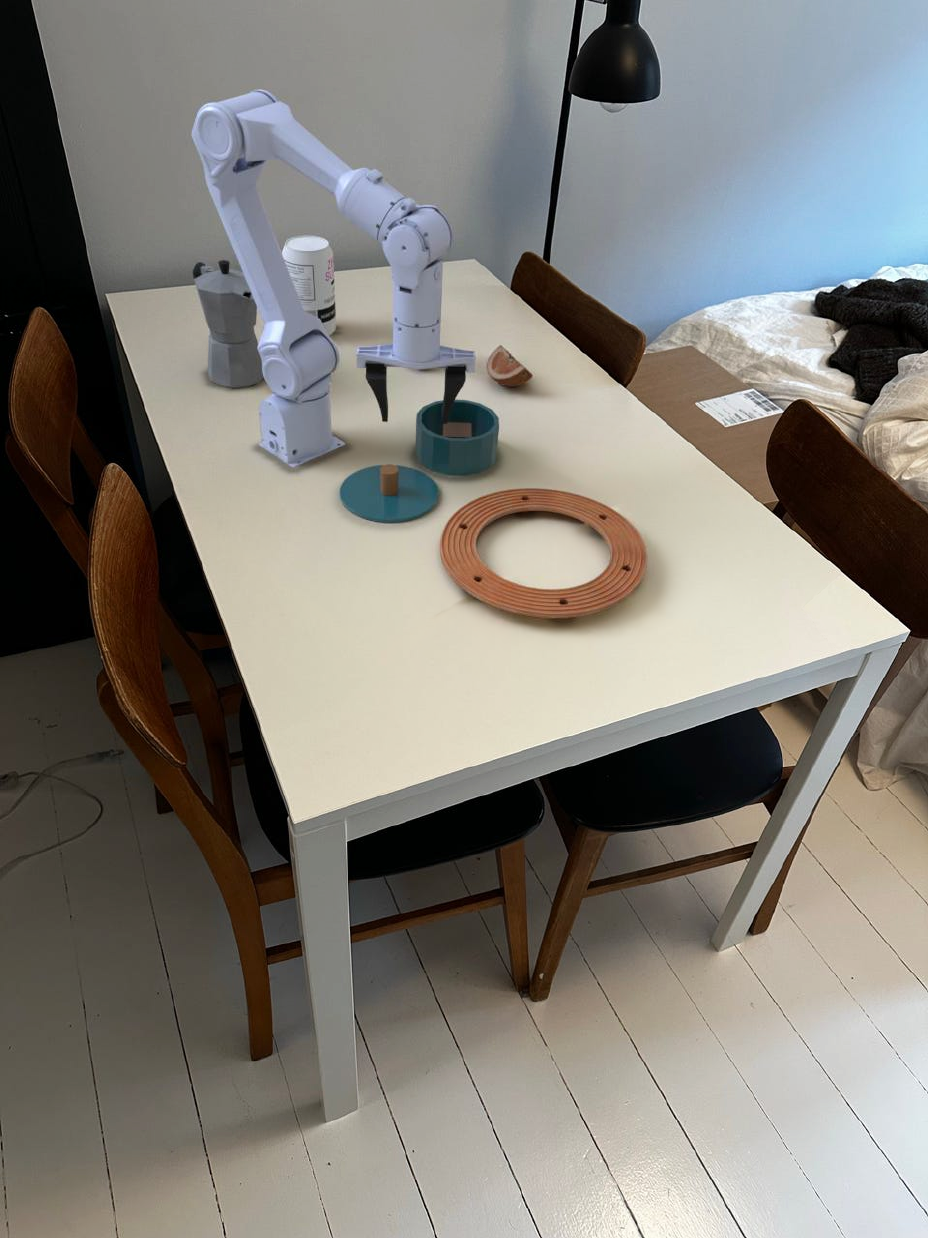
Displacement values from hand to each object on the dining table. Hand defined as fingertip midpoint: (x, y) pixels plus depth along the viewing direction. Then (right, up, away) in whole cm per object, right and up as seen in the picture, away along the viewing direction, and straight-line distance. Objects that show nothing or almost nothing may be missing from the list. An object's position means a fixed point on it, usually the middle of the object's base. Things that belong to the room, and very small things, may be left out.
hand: (415, 418), depth 120 cm
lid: (-4, -9, +3) cm, 10 cm away
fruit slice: (+13, +12, +29) cm, 34 cm away
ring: (+16, -19, -5) cm, 25 cm away
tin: (+5, -3, +12) cm, 13 cm away
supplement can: (-20, +24, +40) cm, 51 cm away
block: (+5, -3, +12) cm, 13 cm away
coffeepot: (-30, +13, +28) cm, 43 cm away
